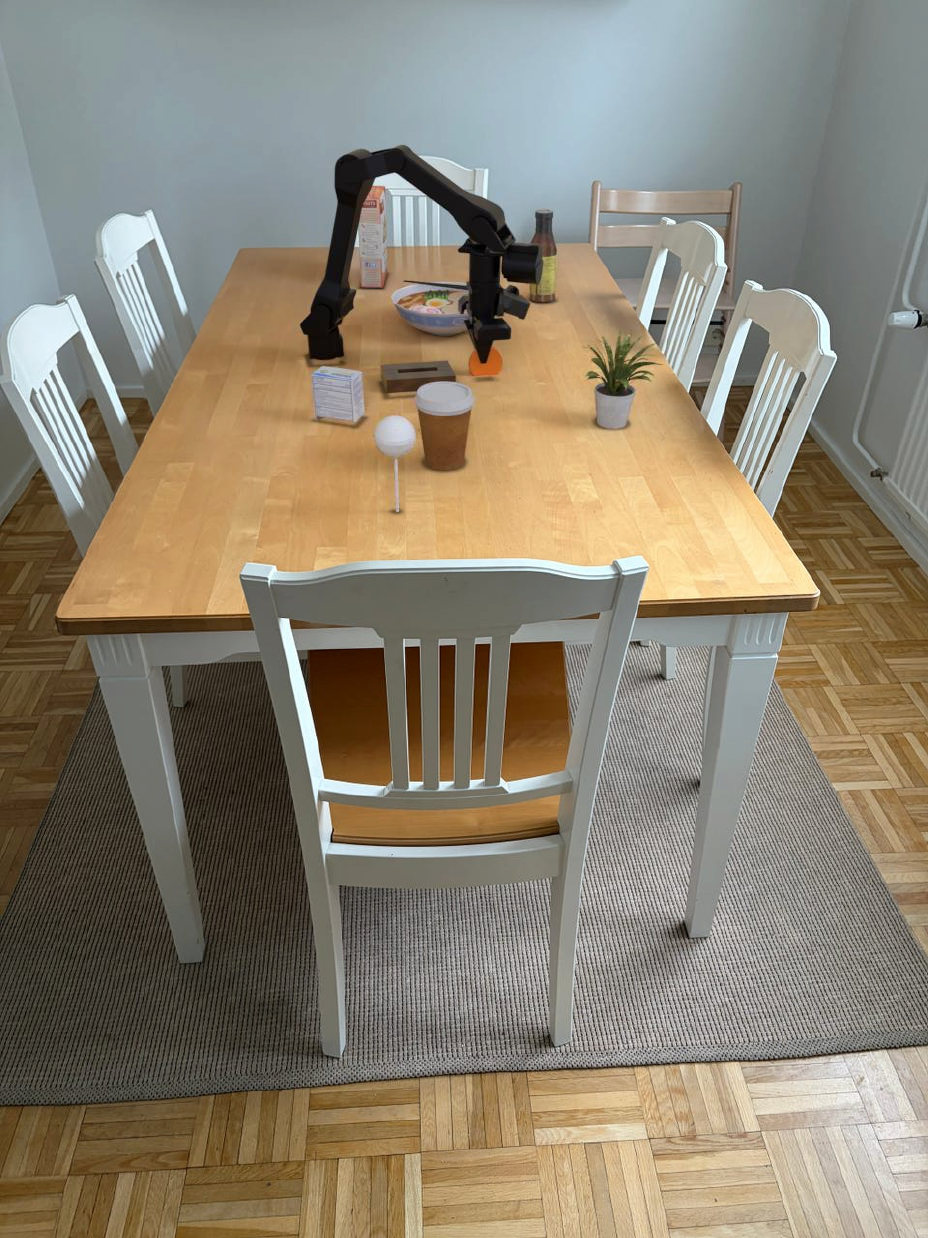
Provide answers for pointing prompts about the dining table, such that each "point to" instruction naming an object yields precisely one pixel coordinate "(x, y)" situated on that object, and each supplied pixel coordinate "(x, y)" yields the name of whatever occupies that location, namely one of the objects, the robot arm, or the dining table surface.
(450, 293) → the ramen bowl
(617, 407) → the house plant
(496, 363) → the token
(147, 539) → the dining table surface
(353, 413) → the medicine box
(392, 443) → the lollipop
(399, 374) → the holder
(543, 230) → the sauce bottle
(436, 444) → the disposable coffee cup
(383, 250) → the cracker box
